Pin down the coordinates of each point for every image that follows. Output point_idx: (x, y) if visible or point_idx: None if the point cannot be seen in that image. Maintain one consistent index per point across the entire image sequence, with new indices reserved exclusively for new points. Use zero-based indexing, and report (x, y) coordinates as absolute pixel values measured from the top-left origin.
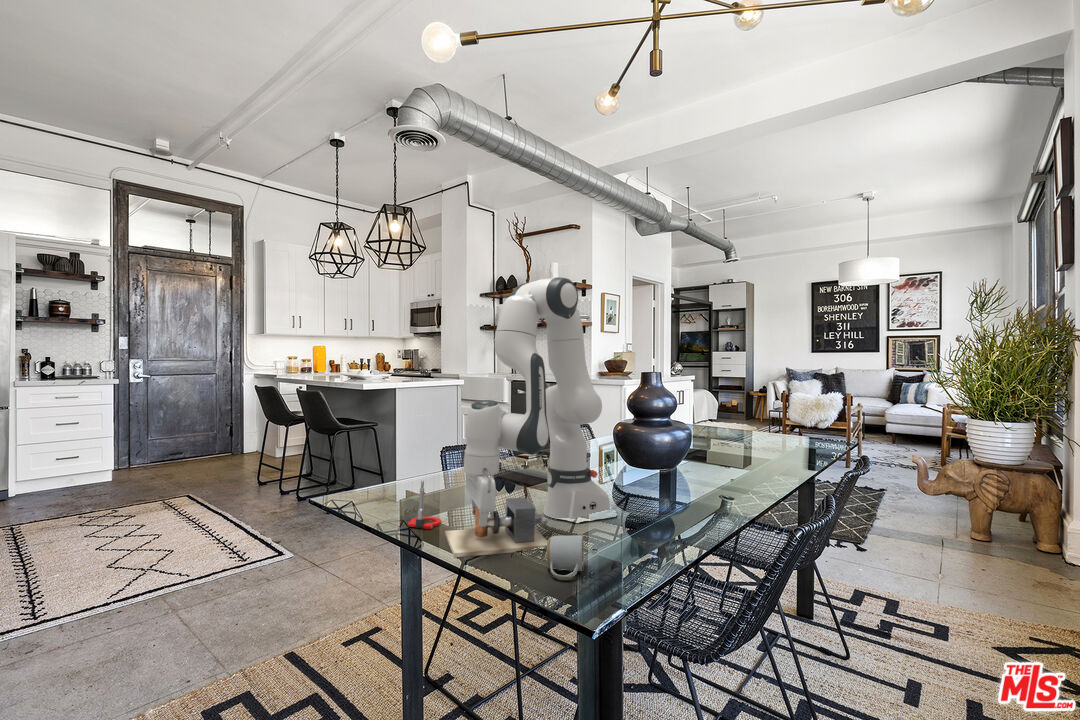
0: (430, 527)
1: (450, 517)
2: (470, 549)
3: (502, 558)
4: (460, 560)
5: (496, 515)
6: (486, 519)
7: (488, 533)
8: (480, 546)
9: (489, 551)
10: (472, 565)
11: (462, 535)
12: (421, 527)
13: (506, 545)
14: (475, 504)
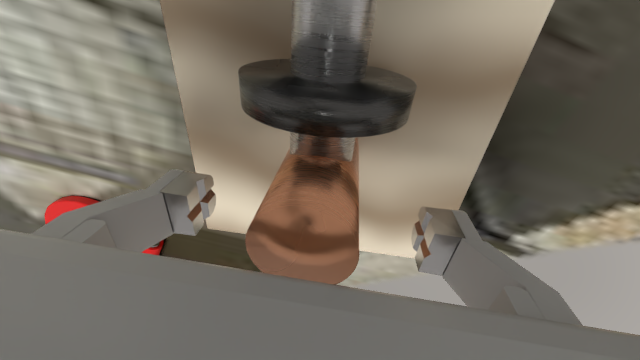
0: (160, 247)
1: (12, 152)
2: None
3: (563, 102)
4: None
5: (381, 120)
6: (480, 243)
7: None
8: (418, 169)
9: (484, 147)
10: (534, 226)
11: (266, 192)
12: None
13: (480, 41)
14: (146, 226)
